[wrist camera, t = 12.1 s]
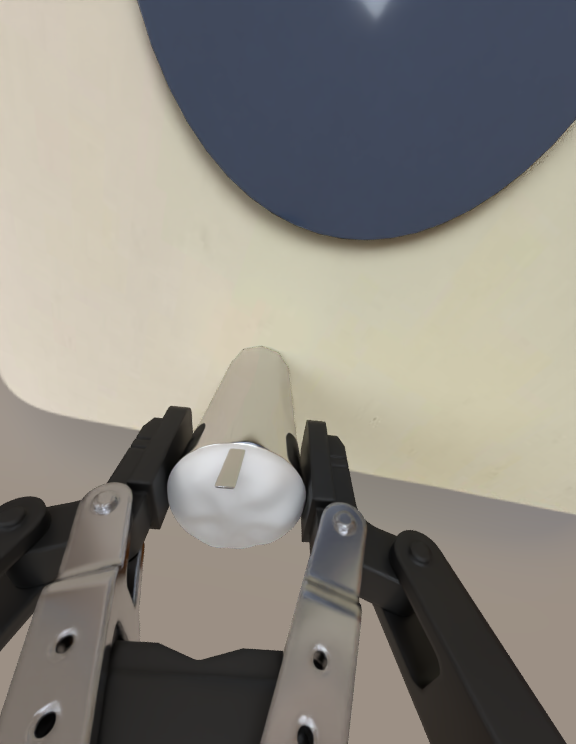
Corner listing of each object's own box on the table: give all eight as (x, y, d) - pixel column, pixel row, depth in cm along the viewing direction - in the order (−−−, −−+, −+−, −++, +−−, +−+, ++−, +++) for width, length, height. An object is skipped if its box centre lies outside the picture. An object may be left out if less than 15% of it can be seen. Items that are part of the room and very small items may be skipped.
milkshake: (308, 324, 15) (326, 495, 7) (295, 406, 18) (297, 602, 9) (218, 314, 15) (120, 478, 6) (219, 399, 18) (151, 592, 9)
